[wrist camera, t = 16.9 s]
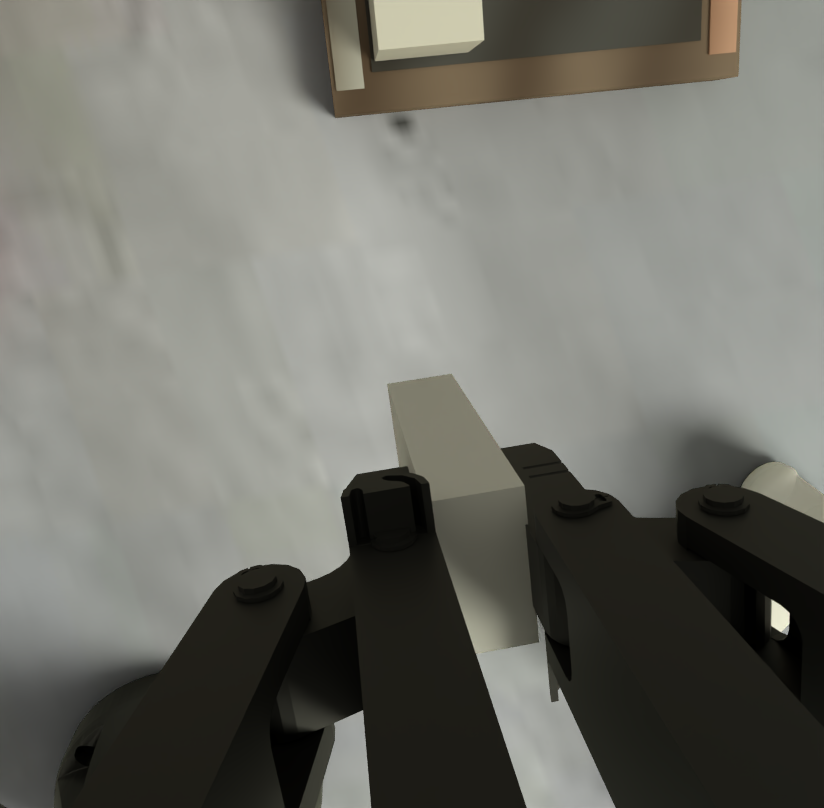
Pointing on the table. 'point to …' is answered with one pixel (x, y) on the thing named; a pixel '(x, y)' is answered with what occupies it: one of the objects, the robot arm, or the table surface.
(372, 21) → the tab
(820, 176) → the table surface
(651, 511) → the table surface
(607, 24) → the brown wooden tray
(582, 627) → the robot arm
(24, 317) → the table surface
